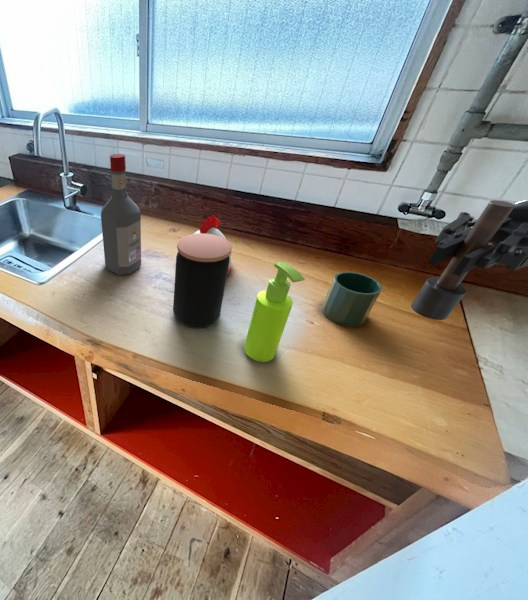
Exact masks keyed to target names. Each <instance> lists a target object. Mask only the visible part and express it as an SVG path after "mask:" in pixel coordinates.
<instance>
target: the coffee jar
mask: <svg viewBox="0 0 528 600" xmlns="http://www.w3.org/2000/svg"><path fill="white" fill-rule="evenodd" d="M225 238H226V237H225ZM225 238H222V237H220V236H217V235H212V234H204V233H200V234H194V233H191V234H187V235H184V236H183V237H181V238H180V239H179V240H178V241H177V244H176V248H177V253H176V257H175V271H174V286H173V287H174V288H173V304H172V310H173V315H174V317H176V319H177V320H178V321H179V322H180V323H181V324H183V325H184V326H187V327H190V328H194V329H202V328H204V329H205V328H207V327H211V326H212V325H213V324H215V323H216V322H218V320H219V318H220V317H221V313H222V312H221V311H222V305H223V300H224V295H225V289H226V283H227V278H228V274H229V273H228V267H229V261H230V256H229V255H230V253H231V254H232V251H231V249H232V247H233V246H232V244H231V242H230V241H229V240H227V238H226V239H225ZM227 273H228V274H227Z"/></svg>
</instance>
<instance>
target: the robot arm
mask: <svg viewBox="0 0 528 600" xmlns="http://www.w3.org/2000/svg"><path fill="white" fill-rule="evenodd" d="M513 204H514V205H515V207H514V208H513V210H512V211H511V212H510V214H509V215H508V217H507V218H506V219H505V221H504V222H503V224H502V225H501V226H500V228H499V229H498V231H497V232H496V234H495V235H494V236H493V238H492V239H491V241H490V242H489V243H488V245H487V246H485V247H483V248H480V249H478V250H476V251H474V252H472V253H470V254H468V255H466V256H464V257H463V259H462V260H461V262H460V263H459V265H458V266H457V268H456V269H455V270H454V272H453V274H455V275H458V276H460V275H462V274H464V273H466V272H468V273H469V272H470V271H472V270H474V269H476V268H477V267H478V268H481V269H489V268H491V267H493V266H498V265H499V264H500V265H504V267H505V269H508V270H511V271H517V270H520V269H522V268H526V267H528V198H526V199H523V200H519V201H518V202H516V203H513ZM477 220H478V218H477V219H476V218H475V216H472V215H471V214H470V213H469V212H466V211H462V212H460V213H459V214H458V216H457V218H456V219H454V220H453V221H451V222H449V223H448V224H446V225H445V226H444V227H442V229H441V231H440V232H439V234H438V236H437V237H436V239H435V241H434V243H435V244H437V246H436V248H435V250H434V251H433V253H432V255H431V256H430V258H429V260H428V261H427V263H426V264H427V265H431V266H436V265H439V264H441V263H443V262H445V261H446V260H449V259H452V258H453V256H454V255H455V253H456V252H457V250H458V249H459V247H460V246H461V244H462V243H463V241H464V240H465V238H466V237H467V235H468V234H469V232H470V231H471V229H472V228H473V226H474V225H475V223H476V221H477Z"/></svg>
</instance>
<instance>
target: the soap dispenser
mask: <svg viewBox="0 0 528 600" xmlns="http://www.w3.org/2000/svg"><path fill="white" fill-rule="evenodd" d="M273 267H274V268H276V269H277V272H276V275H275V277H271V278H270V279H269V281H268V284H267V287H266V289H264V290H260V291H259V292H258V294H257V296H256V299H255V304H254V307H253V311H252V315H251V318H250V323H249V327H248V331H247V334H246V338H245V340H244V341H245V342H244V346H243V350H244V353H245V354H246V355H247V356H248V357H249V358H250V359H252V360H254V361H256V362H263V363H264V362H269V361H272V360H273V359H274V358H275V356H276V353H277V350H278V348H279V345H280V341H281V339H282V336H283V333H284V330H285V327H286V324H287V322H288V320H289V315H290V313H291V310H292V307H293V304H294V301H293V298H291V296H290V295H289V294H288V293H289V291H290V288H291V283H298V282H303V281H306V279H305V277H304V276H303V275H302V273H300V272H299V271H298V269H296V267H294V266H293V265H291V264H290V263H288V262H286V261H278V262H275V263H274V264H273ZM288 279H289V280H290V281H291V282H290V281H289V280H288Z"/></svg>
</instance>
